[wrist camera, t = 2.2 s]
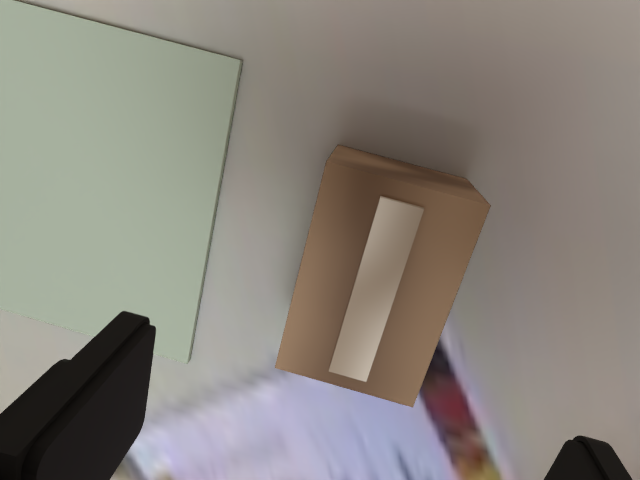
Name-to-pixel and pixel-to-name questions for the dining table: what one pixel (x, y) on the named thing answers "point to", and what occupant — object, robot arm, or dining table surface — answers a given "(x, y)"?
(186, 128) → the mat
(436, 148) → the dining table surface
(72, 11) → the dining table surface
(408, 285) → the cardboard box
